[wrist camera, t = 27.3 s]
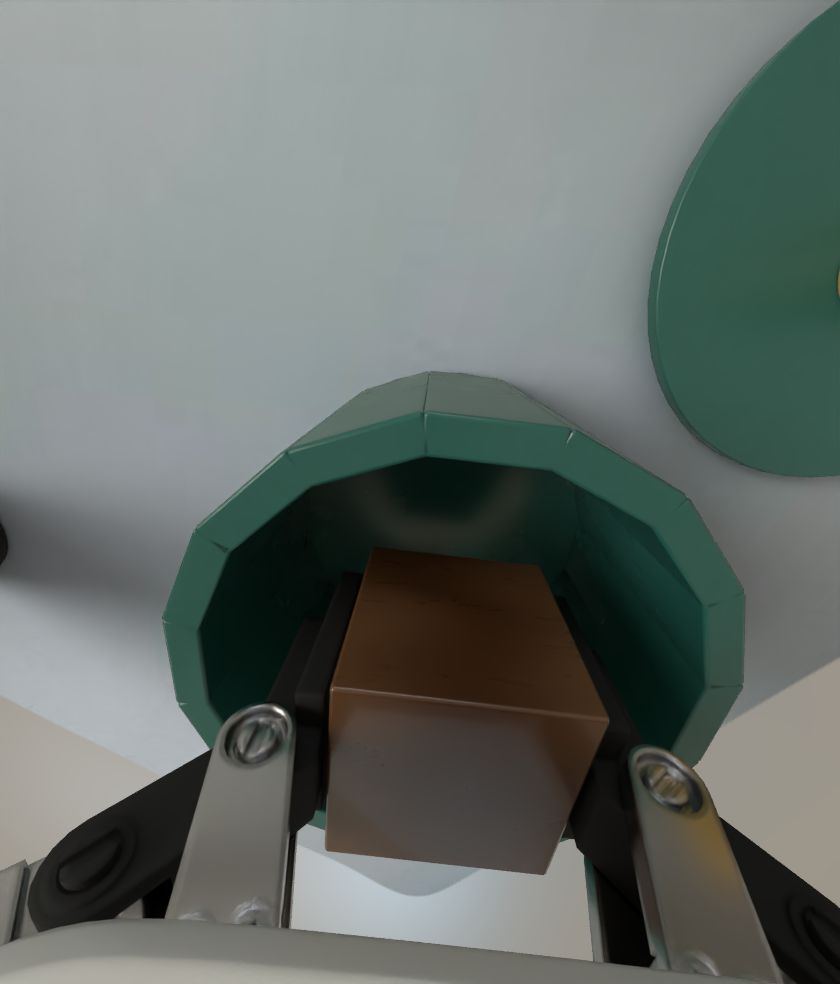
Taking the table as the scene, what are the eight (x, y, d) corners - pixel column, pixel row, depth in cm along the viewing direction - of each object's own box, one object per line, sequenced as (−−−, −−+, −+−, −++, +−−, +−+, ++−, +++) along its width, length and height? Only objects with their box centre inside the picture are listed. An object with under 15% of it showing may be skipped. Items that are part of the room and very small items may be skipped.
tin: (296, 624, 19) (198, 830, 11) (293, 353, 14) (115, 374, 6) (551, 652, 19) (633, 877, 11) (632, 393, 14) (875, 463, 6)
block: (363, 672, 12) (323, 852, 8) (372, 545, 10) (328, 688, 6) (507, 688, 12) (546, 877, 8) (540, 564, 10) (612, 721, 6)
